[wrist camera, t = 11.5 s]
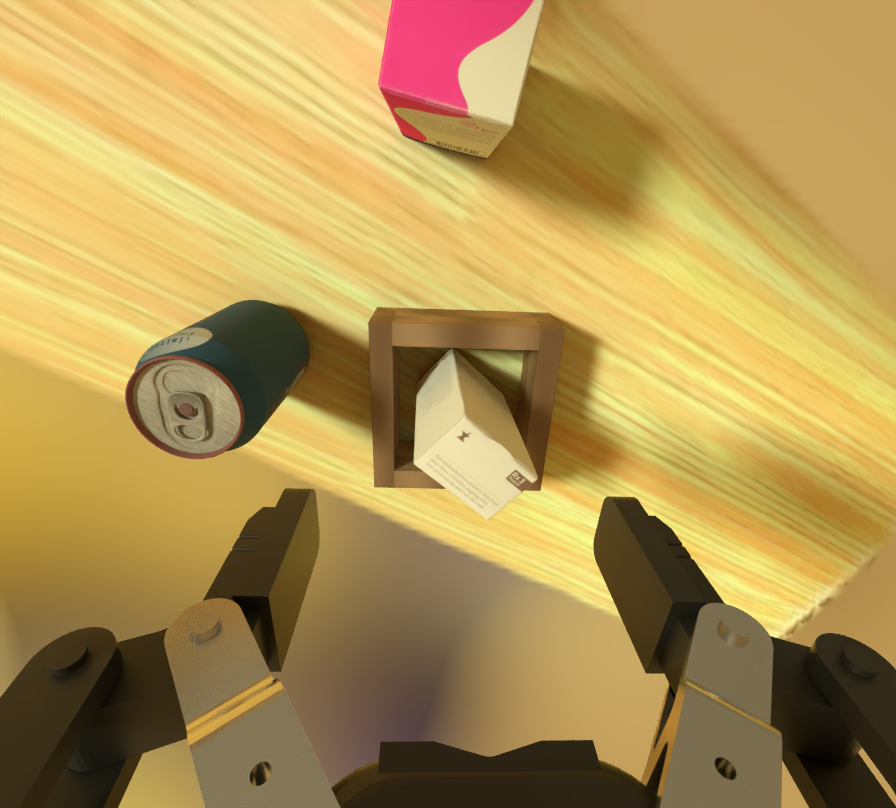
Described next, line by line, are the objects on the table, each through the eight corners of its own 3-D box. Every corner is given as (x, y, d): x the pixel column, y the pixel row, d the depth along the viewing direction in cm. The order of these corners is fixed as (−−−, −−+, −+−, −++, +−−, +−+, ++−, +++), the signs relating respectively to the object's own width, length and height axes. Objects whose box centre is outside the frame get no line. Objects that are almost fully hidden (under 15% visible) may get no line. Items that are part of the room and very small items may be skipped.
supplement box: (514, 51, 26) (563, -48, 16) (487, 161, 29) (514, 138, 18) (418, 20, 26) (404, -103, 15) (398, 135, 28) (374, 97, 18)
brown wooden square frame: (381, 456, 38) (374, 487, 34) (377, 307, 32) (368, 322, 28) (529, 459, 38) (540, 490, 34) (548, 313, 33) (564, 328, 29)
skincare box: (414, 382, 35) (403, 466, 24) (454, 342, 34) (461, 411, 23) (470, 430, 37) (483, 528, 26) (510, 393, 36) (541, 480, 25)
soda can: (216, 290, 32) (100, 336, 21) (314, 303, 32) (251, 355, 21) (223, 379, 35) (123, 461, 24) (313, 390, 35) (256, 475, 24)
